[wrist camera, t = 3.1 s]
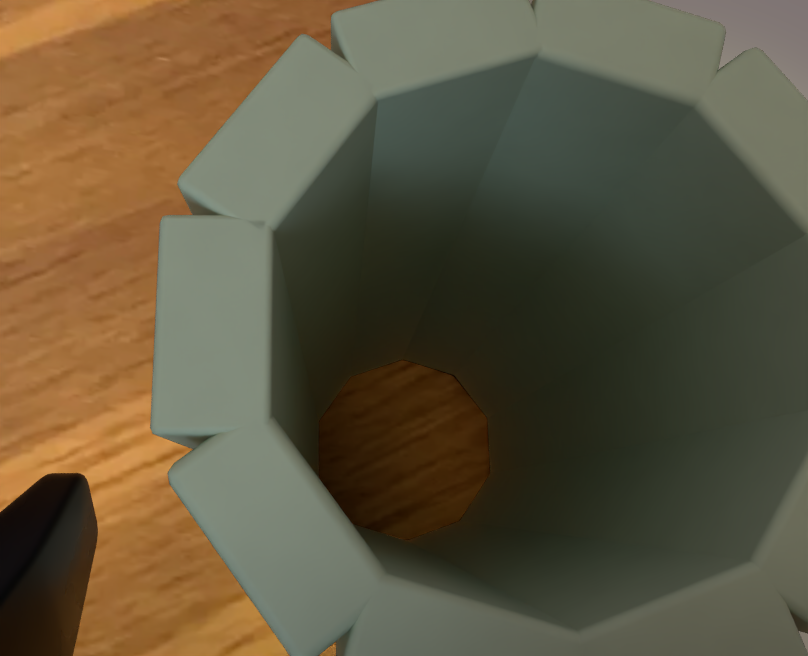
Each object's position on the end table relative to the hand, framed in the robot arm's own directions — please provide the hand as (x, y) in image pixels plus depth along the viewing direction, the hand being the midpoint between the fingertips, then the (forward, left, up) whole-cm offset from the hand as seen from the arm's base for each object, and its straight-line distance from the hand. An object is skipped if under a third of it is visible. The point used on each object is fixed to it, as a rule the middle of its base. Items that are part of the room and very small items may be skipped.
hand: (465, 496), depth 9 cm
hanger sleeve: (+1, 0, -9) cm, 9 cm away
